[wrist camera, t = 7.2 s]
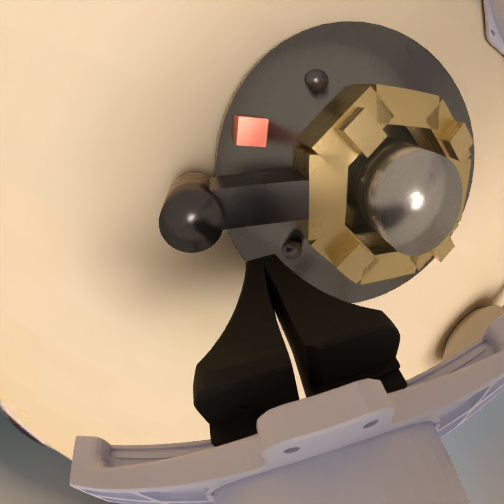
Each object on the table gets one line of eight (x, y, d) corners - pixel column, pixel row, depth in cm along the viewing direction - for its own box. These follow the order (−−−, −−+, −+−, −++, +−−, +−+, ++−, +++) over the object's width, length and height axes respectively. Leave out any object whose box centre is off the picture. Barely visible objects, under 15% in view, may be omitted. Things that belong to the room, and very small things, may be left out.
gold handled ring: (446, 100, 11) (487, 109, 8) (428, 246, 16) (457, 272, 13) (154, 95, 10) (136, 93, 7) (187, 284, 14) (185, 326, 12)
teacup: (436, 372, 29) (463, 417, 22) (422, 341, 24) (462, 400, 17) (508, 304, 26) (541, 341, 19) (510, 254, 20) (558, 297, 14)
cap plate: (230, -2, 9) (244, -53, 4) (475, 82, 12) (535, 94, 7) (210, 296, 17) (215, 366, 12) (422, 286, 19) (460, 329, 15)
